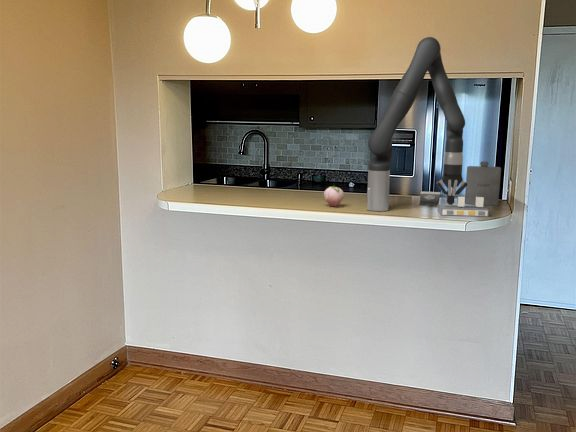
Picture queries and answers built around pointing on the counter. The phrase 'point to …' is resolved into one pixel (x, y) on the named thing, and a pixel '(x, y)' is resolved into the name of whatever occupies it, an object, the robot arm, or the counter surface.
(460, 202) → the slider left
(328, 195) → the decorative fruit
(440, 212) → the switch unit
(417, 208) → the counter surface
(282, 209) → the counter surface
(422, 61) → the robot arm
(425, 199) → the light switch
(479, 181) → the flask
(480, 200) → the slider right
